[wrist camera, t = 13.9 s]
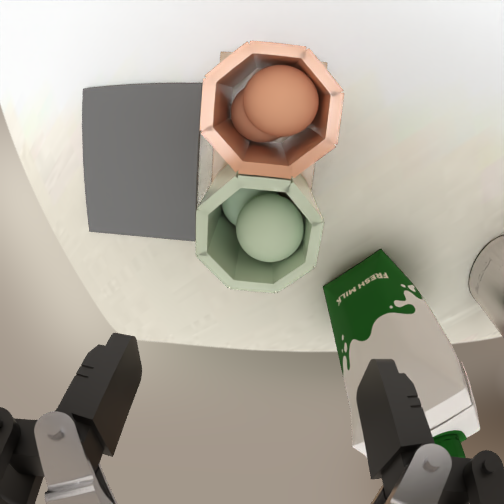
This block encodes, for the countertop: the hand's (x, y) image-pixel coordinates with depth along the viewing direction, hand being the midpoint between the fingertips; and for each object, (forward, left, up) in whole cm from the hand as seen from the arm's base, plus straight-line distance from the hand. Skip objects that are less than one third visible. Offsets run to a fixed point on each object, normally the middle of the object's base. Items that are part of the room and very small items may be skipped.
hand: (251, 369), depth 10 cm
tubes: (0, -4, -20) cm, 20 cm away
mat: (+11, -2, -20) cm, 23 cm away
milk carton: (-12, +9, -20) cm, 25 cm away
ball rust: (+1, -7, -14) cm, 15 cm away
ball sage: (+1, 0, -14) cm, 14 cm away
